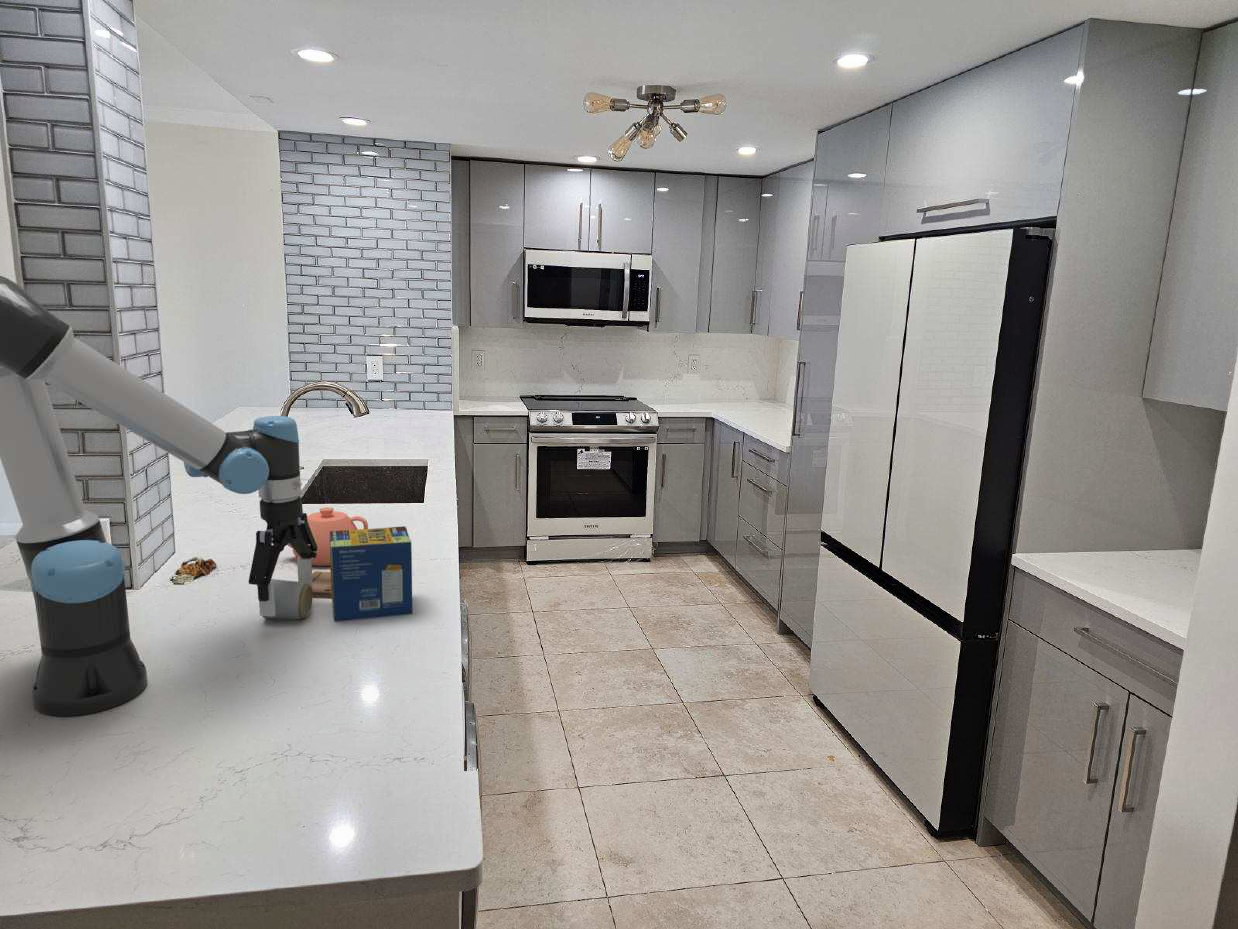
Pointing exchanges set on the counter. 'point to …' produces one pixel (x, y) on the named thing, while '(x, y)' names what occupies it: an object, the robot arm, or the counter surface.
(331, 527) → the teapot
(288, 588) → the ceramic mug
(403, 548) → the protein box
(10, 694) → the counter surface
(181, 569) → the grilled chicken meal
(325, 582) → the walnut board
